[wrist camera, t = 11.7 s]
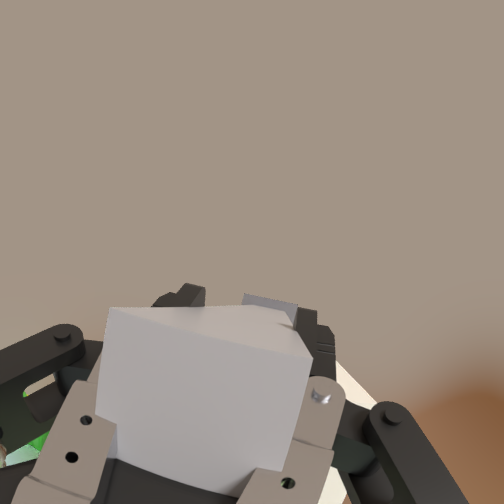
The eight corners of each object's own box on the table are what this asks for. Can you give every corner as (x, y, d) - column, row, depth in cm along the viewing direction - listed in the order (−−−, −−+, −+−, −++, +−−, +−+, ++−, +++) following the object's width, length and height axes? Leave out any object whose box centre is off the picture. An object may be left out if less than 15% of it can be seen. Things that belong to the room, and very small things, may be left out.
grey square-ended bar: (335, 514, 4) (399, 309, 5) (46, 424, 5) (70, 238, 5) (288, 334, 39) (295, 304, 40) (242, 325, 40) (249, 294, 41)
